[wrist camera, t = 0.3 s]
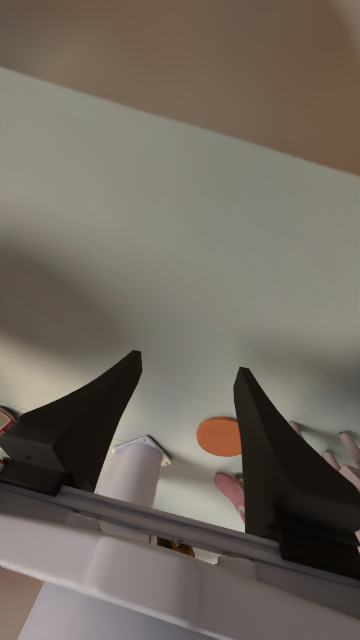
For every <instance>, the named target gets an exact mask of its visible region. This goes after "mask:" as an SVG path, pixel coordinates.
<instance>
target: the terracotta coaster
mask: <svg viewBox="0 0 360 640" xmlns="http://www.w3.org/2000/svg"><path fill="white" fill-rule="evenodd" d="M196 438H197V442H198V444H199V445H200V446H201V447H202V448H203V449H204V450H205V451H207V452H209V453H211V454H213V455H217V456H223V457H230V456H236V455H239V454H242V451H241V440H240V433H239V427H238V421H237V420H235V419H232V418H228V417H214V418H210V419H208V420H206V421H204V422H203V423H201V424H200V425H199V427H198V429H197V433H196Z"/></svg>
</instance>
